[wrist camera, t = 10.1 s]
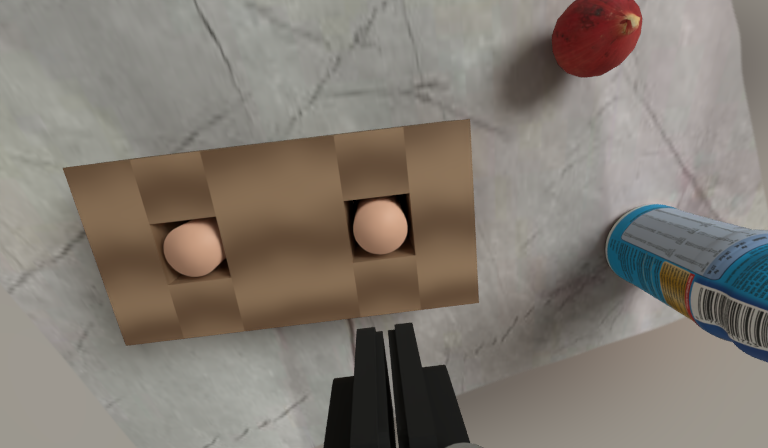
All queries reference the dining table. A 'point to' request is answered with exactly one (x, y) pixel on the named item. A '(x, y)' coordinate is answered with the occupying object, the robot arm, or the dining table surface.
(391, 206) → the peg
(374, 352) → the robot arm
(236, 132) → the dining table surface
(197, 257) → the peg
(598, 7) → the onion
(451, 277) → the peg block
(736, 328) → the beverage bottle
